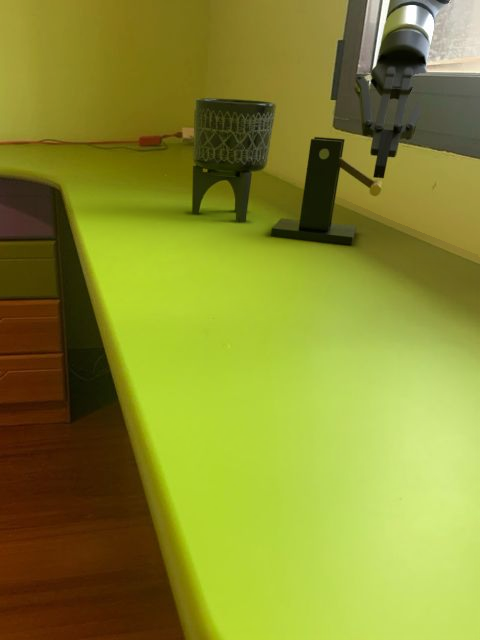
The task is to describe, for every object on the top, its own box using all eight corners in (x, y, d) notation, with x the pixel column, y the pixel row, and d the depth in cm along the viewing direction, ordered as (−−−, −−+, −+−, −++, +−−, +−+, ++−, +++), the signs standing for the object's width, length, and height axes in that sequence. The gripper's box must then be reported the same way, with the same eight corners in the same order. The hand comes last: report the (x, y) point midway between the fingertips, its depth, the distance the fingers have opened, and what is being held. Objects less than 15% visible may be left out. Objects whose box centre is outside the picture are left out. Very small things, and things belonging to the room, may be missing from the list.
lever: (375, 194, 104) (386, 181, 103) (374, 200, 99) (385, 186, 98) (315, 152, 104) (325, 137, 103) (311, 156, 99) (321, 140, 98)
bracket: (355, 233, 109) (371, 139, 103) (351, 245, 102) (368, 144, 95) (280, 225, 112) (291, 133, 106) (270, 236, 105) (282, 138, 98)
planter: (278, 221, 115) (292, 104, 107) (210, 224, 110) (220, 102, 102) (237, 206, 125) (248, 99, 117) (174, 209, 120) (180, 97, 112)
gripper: (443, 69, 110) (421, 192, 104) (360, 64, 113) (333, 183, 107) (453, 28, 103) (430, 158, 97) (364, 25, 106) (336, 150, 100)
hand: (379, 171), depth 102 cm, fingers closed
